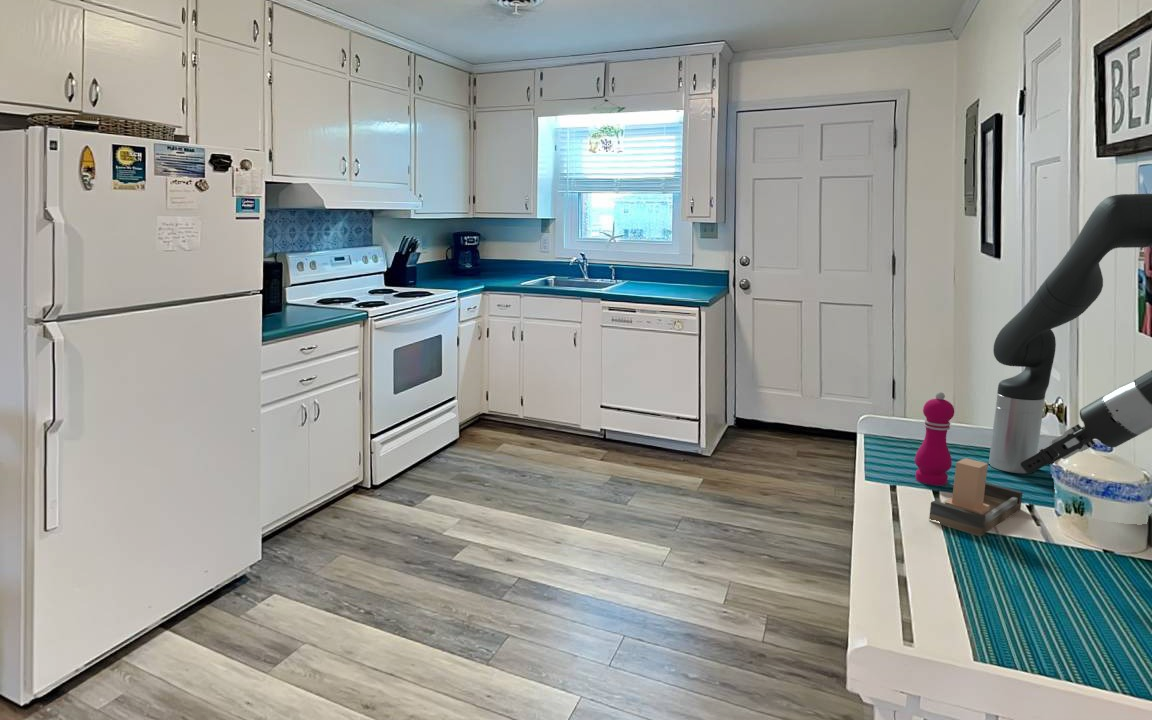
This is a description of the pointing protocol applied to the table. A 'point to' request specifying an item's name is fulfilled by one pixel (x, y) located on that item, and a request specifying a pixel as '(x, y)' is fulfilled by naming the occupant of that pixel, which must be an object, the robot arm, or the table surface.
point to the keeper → (970, 486)
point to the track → (1001, 508)
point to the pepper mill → (935, 442)
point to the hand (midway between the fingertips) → (1033, 463)
